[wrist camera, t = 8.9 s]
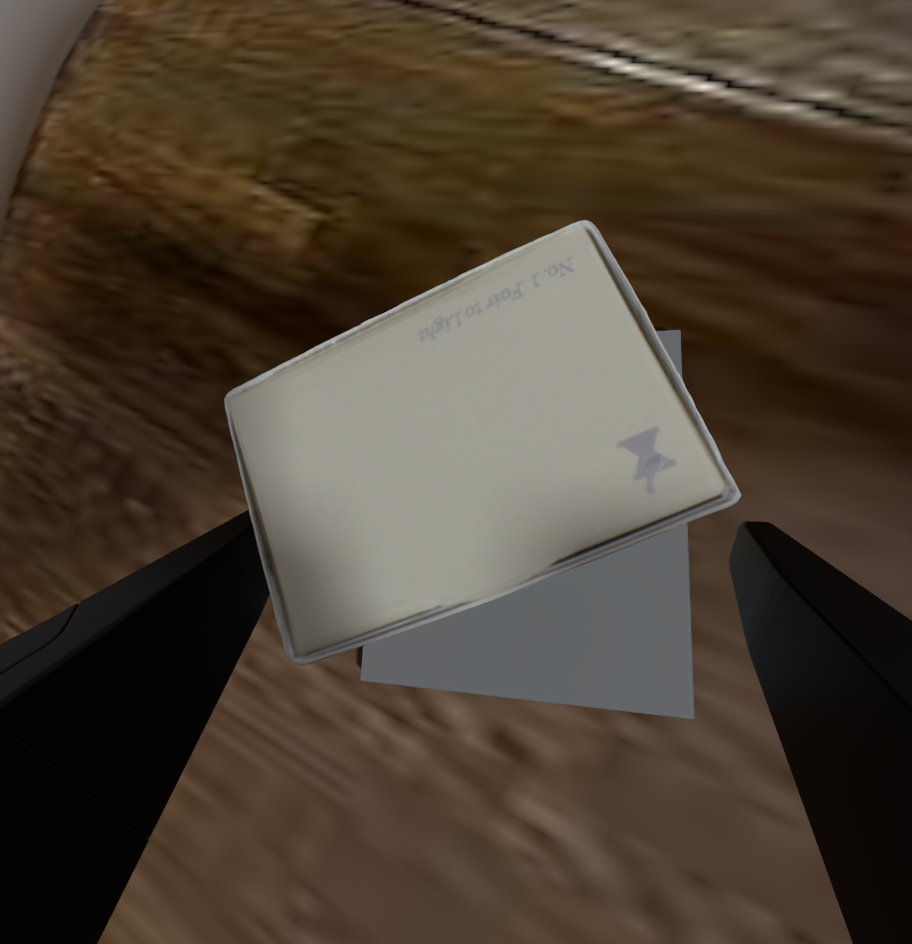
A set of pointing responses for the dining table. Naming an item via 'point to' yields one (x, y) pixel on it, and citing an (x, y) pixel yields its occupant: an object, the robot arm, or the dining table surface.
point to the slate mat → (567, 633)
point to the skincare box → (468, 447)
